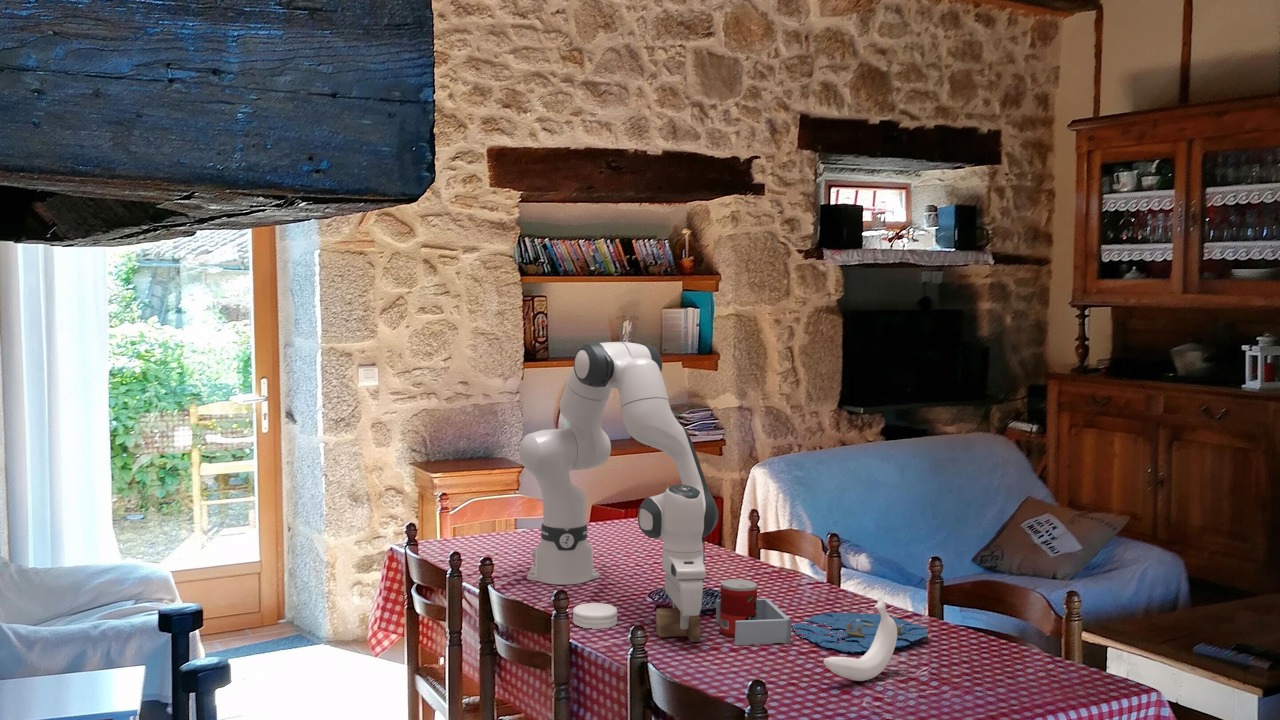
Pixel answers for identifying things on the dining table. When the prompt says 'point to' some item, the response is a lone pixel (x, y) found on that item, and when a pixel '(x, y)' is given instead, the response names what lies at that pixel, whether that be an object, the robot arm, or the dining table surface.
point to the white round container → (595, 615)
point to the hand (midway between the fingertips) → (681, 624)
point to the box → (762, 625)
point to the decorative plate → (855, 630)
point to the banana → (869, 652)
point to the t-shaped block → (676, 624)
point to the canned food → (737, 604)
